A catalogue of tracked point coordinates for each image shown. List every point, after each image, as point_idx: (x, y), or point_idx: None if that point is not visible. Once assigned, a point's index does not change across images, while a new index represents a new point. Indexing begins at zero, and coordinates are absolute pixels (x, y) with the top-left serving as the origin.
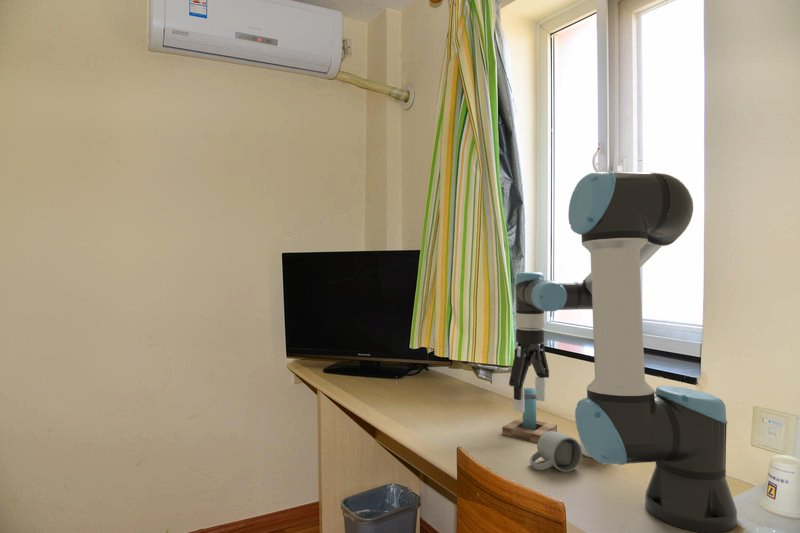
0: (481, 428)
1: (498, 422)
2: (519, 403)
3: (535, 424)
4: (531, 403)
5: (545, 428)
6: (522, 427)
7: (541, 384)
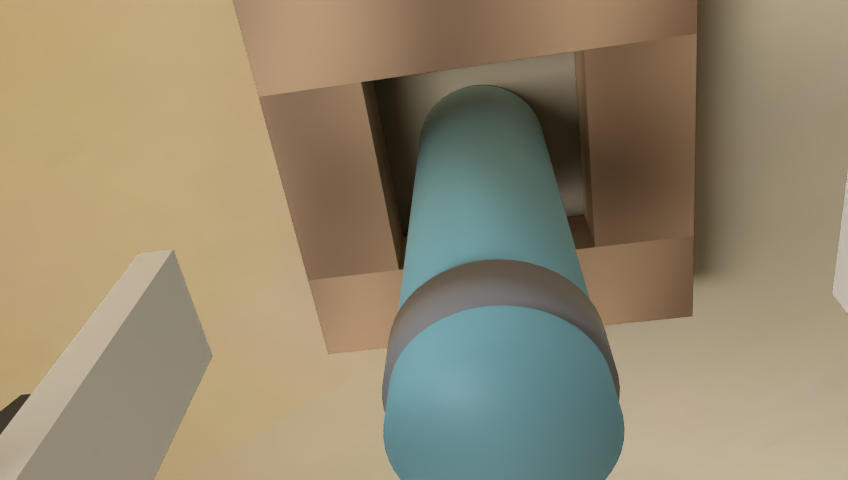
0: (650, 444)
1: None
2: None
3: (479, 117)
4: (560, 250)
5: (439, 9)
6: None
7: (86, 453)
